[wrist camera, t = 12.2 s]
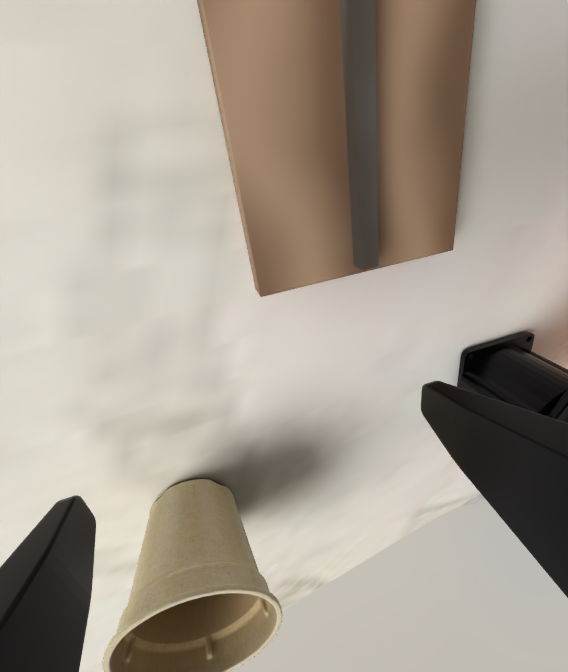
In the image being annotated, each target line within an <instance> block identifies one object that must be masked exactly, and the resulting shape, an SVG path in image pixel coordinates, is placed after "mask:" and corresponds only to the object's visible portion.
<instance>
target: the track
mask: <svg viewBox="0 0 568 672" xmlns="http://www.w3.org/2000/svg"><path fill="white" fill-rule="evenodd" d="M197 2H198V7H199V12H200V17H201V22H202V27H203V32H204V37H205V42H206V47H207V52H208V57H209V61H210V66H211V71H212V76H213V81H214V86H215V91H216V96H217V101H218V106H219V111H220V116H221V121H222V126H223V130H224V135H225V140H226V145H227V150H228V155H229V160H230V165H231V170H232V175H233V180H234V185H235V190H236V195H237V199H238V204H239V209H240V214H241V219H242V224H243V229H244V234H245V239H246V244H247V249H248V254H249V259H250V264H251V269H252V273H253V278H254V283H255V288H256V290H257V292H258V293H259V295H260V296H261V297H262V296H266V295H271V294H275V293H279V292H283V291H287V290H291V289H295V288H299V287H303V286H308V285H312V284H316V283H320V282H324V281H328V280H332V279H336V278H340V277H344V276H349V275H353V274H357V273H361V272H365V271H369V270H373V269H377V268H381V267H385V266H390V265H394V264H398V263H402V262H406V261H410V260H414V259H418V258H422V257H427V256H431V255H435V254H439V253H443V252H447V251H451V250H453V244H454V233H455V223H456V212H457V201H458V190H459V179H460V168H461V157H462V147H463V136H464V125H465V114H466V103H467V92H468V81H469V71H470V60H471V49H472V38H473V27H474V16H475V5H476V0H197Z"/></svg>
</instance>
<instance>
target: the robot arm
mask: <svg viewBox="0 0 568 672" xmlns="http://www.w3.org/2000/svg"><path fill="white" fill-rule="evenodd" d="M533 341H534V334H532V333H530V332H528V331H527V332H523V333H520V334H516V335H513V336H510V337H507V338H503V339H500V340H497V341H493V342H490V343H487V344H484V345H480V346H477V347H474V348H470V349H467V350H465V351H464V352H463V353H462V355H461V360H460V368H459V376H458V384H457V387H456V386H453V385H450V384H447V383H443V382H440V381H433V382H430V383H427V384H425V385H423V387H422V396H421V411H422V413H423V415H424V417H425V419H426V420H427V422H428V423H429V424H430V426H431V427H432V429H433V430H434V432H435V433H436V435H437V436H438V438H439V439H440V441H441V442H442V444H443V445H444V447H445V448H446V450H447V451H448V453H449V454H450V455H451V457H452V458H453V460H454V461H455V462H456V464H457V465H458V466H459V467H460V469H461V470H462V471H463V472H464V474H465V475H466V476H467V477H468V478H469V480H470V481H471V482H472V483H473V484H474V486H475V487H476V488H477V489H478V490H479V492H480V493H481V494H482V495H483V496H484V498H485V499H486V500H487V501H488V502H489V504H490V505H491V506H492V507H493V508H494V510H495V511H496V512H497V513H498V514H499V516H500V517H501V518H502V519H503V520H504V522H505V523H506V524H507V525H508V526H509V528H510V529H511V530H512V531H513V532H514V534H515V535H516V536H517V537H518V538H519V540H520V541H521V542H522V543H523V544H524V546H525V547H526V548H527V549H528V550H529V552H530V553H531V554H532V555H533V557H534V558H535V559H536V560H537V561H538V563H539V564H540V565H541V566H542V567H543V569H544V570H545V571H546V572H547V573H548V575H549V576H550V577H551V578H552V579H553V581H554V582H555V583H556V584H557V585H558V587H559V588H560V589H561V590H562V591H563V593H564V594H565V595H566V596H567V597H568V370H567V369H565V368H563V367H561V366H559V365H557V364H555V363H553V362H551V361H549V360H547V359H545V358H544V357H542V356H540V355H538V354H536V353H534V352H532V351H531V349H532V345H533ZM95 533H96V521H95V518H94V515H93V514H92V512H91V511H90V509H89V508H88V506H87V505H86V503H85V502H84V501H83V499H82V498H81V497H80V496H78V495H77V496H72V497H69V498H66V499H62V500H60V501H58V502H57V503H56V504H55V505H54V506H53V507H52V508H51V510H50V511H49V512H48V513H47V514H46V515H45V516H44V518H43V519H42V520H41V521H40V522H39V523H38V524H37V526H36V527H35V528H34V529H33V530H32V531H31V533H30V534H29V535H28V536H27V537H26V538H25V539H24V541H23V542H22V543H21V544H20V545H19V546H18V548H17V549H16V550H15V551H14V552H13V553H12V554H11V556H10V557H9V558H8V559H7V560H6V561H5V563H4V564H3V565H2V566H1V567H0V672H79V667H80V661H81V655H82V649H83V643H84V637H85V631H86V625H87V619H88V614H89V607H90V600H91V592H92V579H93V564H94V548H95Z"/></svg>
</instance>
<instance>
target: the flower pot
mask: <svg viewBox="0 0 568 672" xmlns="http://www.w3.org/2000/svg"><path fill="white" fill-rule="evenodd" d="M281 622H282V610H281V606H280V603H279V601H278V600H277V598H276V597H275V596H274V595H273V594H272V593H270V592H269V589H268V586H267V583H266V581H265V579H264V577H263V576H262V575H261V574H260V573H259V571H258V568H257V565H256V562H255V559H254V556H253V553H252V550H251V548H250V545H249V542H248V539H247V536H246V533H245V530H244V527H243V524H242V521H241V518H240V515H239V512H238V509H237V506H236V502H235V499H234V496H233V494H232V492H231V490H230V489H229V488H228V487H226V486H222V485H219V484H217V483H215V482H213V481H212V480H209V479H195V480H189V481H185V482H182V483H179V484H177V485H174V486H172V487H170V488H169V489H167V490H166V491H165V492H164V493H163V495H162V496H161V497H160V498H159V499H158V500H157V501H156V502H155V503H154V504H153V505H152V507H151V510H150V514H149V519H148V523H147V527H146V532H145V536H144V540H143V544H142V548H141V553H140V557H139V561H138V565H137V569H136V573H135V577H134V581H133V586H132V590H131V594H130V598H129V602H128V606H127V607H126V609H125V610H124V612H123V614H122V616H121V618H120V621H119V625H118V629H117V633H116V634H115V636H114V637H113V638H112V640H111V641H110V642H109V644H108V646H107V648H106V651H105V654H104V658H103V665H102V666H103V671H104V672H230V671H232V670H234V669H236V668H237V667H239V666H241V665H243V664H244V663H246V662H247V661H249V660H250V659H252V658H253V657H255V655H257V654H259V652H260V651H262V650H263V649H264V648H265V647H266V646H267V645H268V644H269V643H270V641H271V640H272V639H273V638H274V636H275V635H276V634H277V632H278V630H279V628H280V625H281Z"/></svg>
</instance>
